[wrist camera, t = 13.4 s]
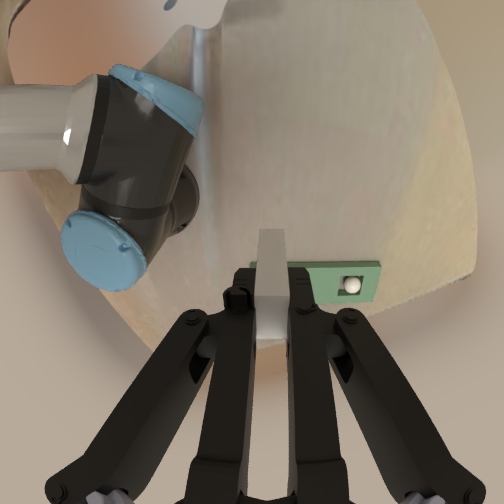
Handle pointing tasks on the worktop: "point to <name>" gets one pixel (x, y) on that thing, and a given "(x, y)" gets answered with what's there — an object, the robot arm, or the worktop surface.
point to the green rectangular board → (328, 280)
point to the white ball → (352, 284)
